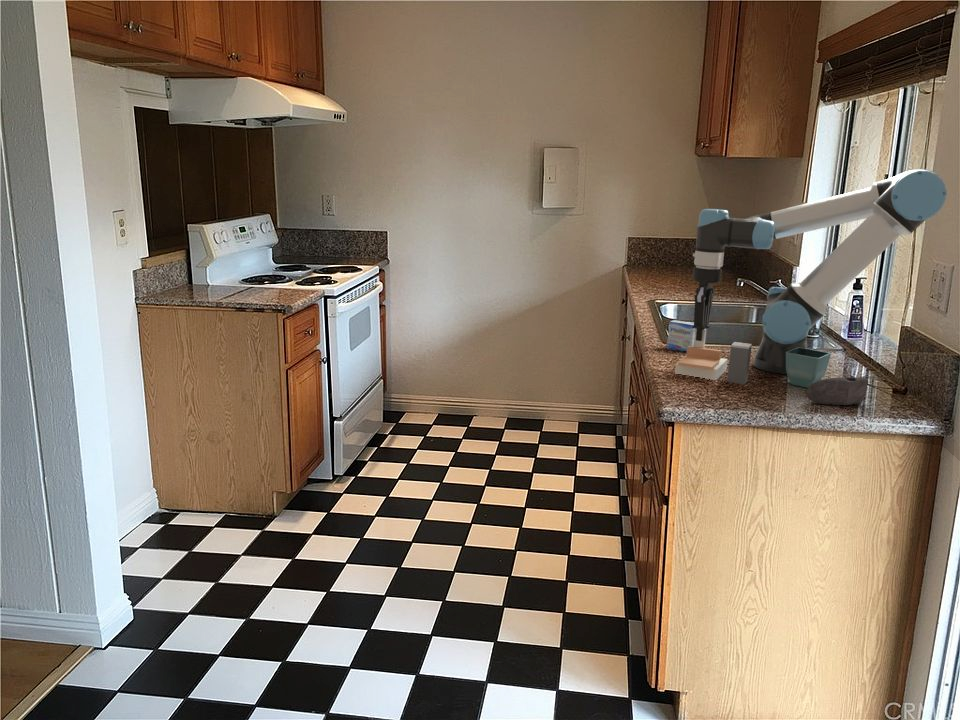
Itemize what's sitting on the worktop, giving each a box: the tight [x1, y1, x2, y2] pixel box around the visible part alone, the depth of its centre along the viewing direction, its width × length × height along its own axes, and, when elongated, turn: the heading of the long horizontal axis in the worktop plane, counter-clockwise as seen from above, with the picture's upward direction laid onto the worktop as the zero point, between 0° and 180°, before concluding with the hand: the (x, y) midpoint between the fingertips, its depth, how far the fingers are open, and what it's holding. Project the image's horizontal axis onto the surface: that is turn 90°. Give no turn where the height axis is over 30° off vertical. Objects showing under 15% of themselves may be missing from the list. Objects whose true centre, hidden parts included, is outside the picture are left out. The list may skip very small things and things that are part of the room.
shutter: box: [677, 346, 722, 370], centre depth 218 cm, size 9×10×3 cm
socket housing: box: [674, 357, 729, 381], centre depth 221 cm, size 11×14×3 cm
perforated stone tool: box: [806, 376, 869, 406], centre depth 195 cm, size 15×5×7 cm, turn 88°
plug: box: [726, 341, 752, 385], centre depth 212 cm, size 4×4×10 cm
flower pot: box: [786, 347, 832, 389], centre depth 211 cm, size 9×9×9 cm
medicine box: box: [666, 319, 695, 353], centre depth 247 cm, size 8×4×9 cm, turn 55°
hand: (698, 351), depth 224 cm, fingers closed
